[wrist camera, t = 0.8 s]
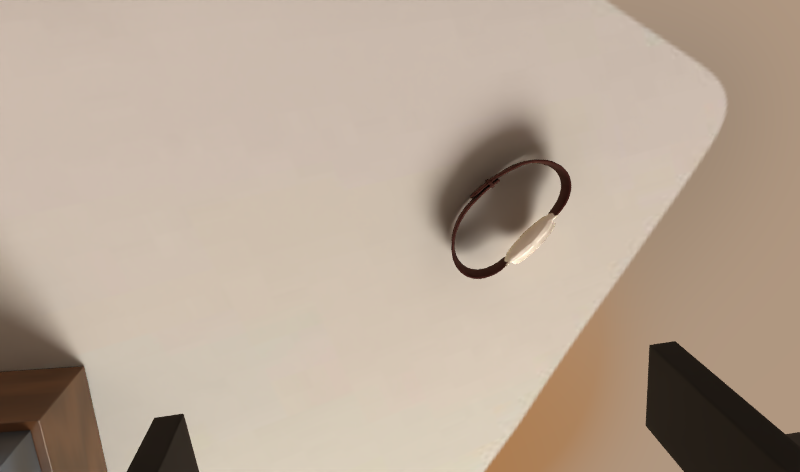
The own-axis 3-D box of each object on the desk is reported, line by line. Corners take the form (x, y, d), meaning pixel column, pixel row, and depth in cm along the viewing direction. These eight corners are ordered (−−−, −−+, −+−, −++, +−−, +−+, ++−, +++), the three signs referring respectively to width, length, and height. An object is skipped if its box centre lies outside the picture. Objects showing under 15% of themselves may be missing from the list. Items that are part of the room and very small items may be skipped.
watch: (481, 283, 33) (497, 310, 29) (424, 233, 31) (435, 255, 28) (576, 188, 31) (605, 204, 28) (521, 132, 30) (544, 141, 27)
